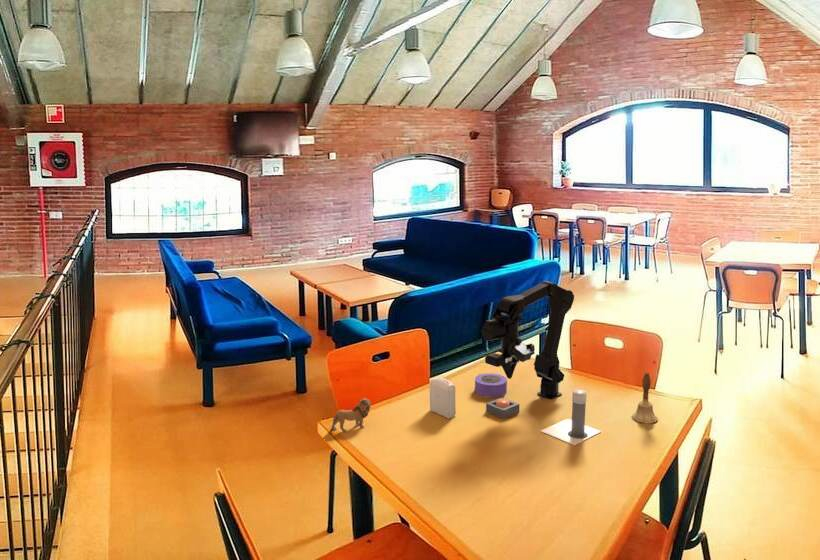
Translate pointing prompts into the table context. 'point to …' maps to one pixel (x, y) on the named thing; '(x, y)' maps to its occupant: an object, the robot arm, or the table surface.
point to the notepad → (569, 432)
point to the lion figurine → (352, 415)
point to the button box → (502, 409)
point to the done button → (502, 403)
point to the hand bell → (645, 404)
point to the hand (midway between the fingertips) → (509, 378)
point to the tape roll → (491, 385)
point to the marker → (578, 413)
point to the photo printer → (442, 397)
